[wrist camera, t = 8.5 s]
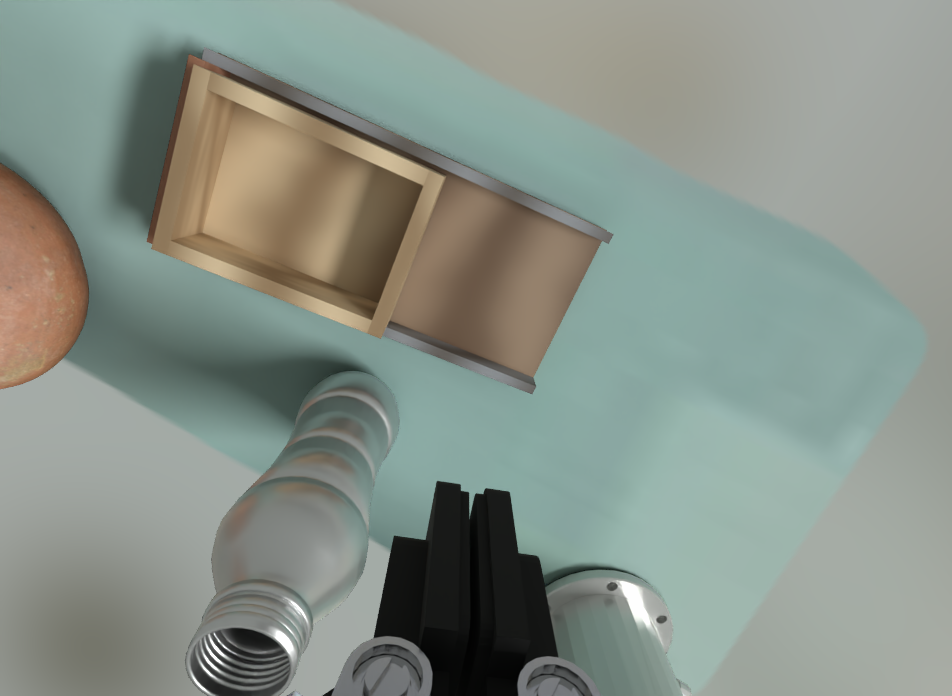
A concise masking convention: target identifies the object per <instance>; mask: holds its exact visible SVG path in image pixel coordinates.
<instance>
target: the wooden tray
mask: <svg viewBox="0 0 952 696" xmlns="http://www.w3.org/2000/svg"><path fill="white" fill-rule="evenodd" d="M194 64H195V65H197V66H200V67H202V68H205V69H208V70H210V71H213V72H215V73H218V74H221V75H223V76H226V77H228V78H231V79H233V80H236V81H238V82H240V83H242V84H245V85H247V86H249V87H251V88H253V89H256V90H258V91H260V92H262V93H265V94H267V95H269V96H271V97H273V98H276V99H278V100H280V101H282V102H284V103H287V104H289V105H291V106H293V107H296V108H298V109H300V110H302V111H304V112H307V113H309V114H311V115H313V116H315V117H318V118H320V119H322V120H324V121H327V122H329V123H331V124H333V125H335V126H338V127H340V128H342V129H344V130H346V131H349V132H351V133H353V134H355V135H358V136H360V137H362V138H364V139H366V140H369V141H371V142H373V143H375V144H377V145H380V146H382V147H384V148H386V149H389V150H391V151H393V152H395V153H397V154H400V155H402V156H404V157H406V158H408V159H411V160H413V161H415V162H417V163H420V164H422V165H424V166H426V167H428V168H431V169H433V170H435V171H437V172H440V173H442V174H444V175H446V179H445V182H444V184H443V187H442V189H441V192H440V194H439V197H438V199H437V202H436V204H435V207H434V210H433V212H432V215H431V217H430V220H429V222H428V225H427V227H426V230H425V232H424V235H423V237H422V240H421V243H420V245H419V248H418V250H417V253H416V255H415V258H414V260H413V263H412V265H411V268H410V271H409V273H408V276H407V278H406V281H405V283H404V286H403V288H402V291H401V293H400V296H399V299H398V301H397V304H396V306H395V309H394V311H393V314H392V316H391V319H390V321H389V323H388V325H387V327H386V329H385V331H384V333H383V335H382V336H385V337H388V338H390V339H393V340H395V341H398V342H400V343H403V344H405V345H408V346H410V347H413V348H416V349H418V350H421V351H423V352H426V353H428V354H431V355H433V356H436V357H438V358H441V359H444V360H446V361H449V362H451V363H454V364H456V365H459V366H461V367H464V368H466V369H469V370H472V371H474V372H477V373H479V374H482V375H484V376H487V377H489V378H492V379H494V380H497V381H500V382H502V383H505V384H507V385H510V386H512V387H515V388H517V389H520V390H522V391H525V392H528V393H530V394H533V392H534V390H535V388H536V385H535V382H534V379H533V377H534V375H535V373H536V371H537V369H538V367H539V365H540V363H541V361H542V359H543V357H544V355H545V353H546V351H547V349H548V347H549V345H550V343H551V341H552V339H553V337H554V335H555V333H556V331H557V329H558V327H559V325H560V323H561V321H562V319H563V317H564V315H565V313H566V311H567V309H568V307H569V305H570V303H571V301H572V299H573V297H574V295H575V293H576V291H577V289H578V287H579V285H580V283H581V281H582V279H583V277H584V275H585V274H586V272H587V270H588V268H589V266H590V264H591V262H592V260H593V258H594V256H595V254H596V252H597V250H598V248H599V246H600V244H601V242H602V241H604V242H606V243H608V244H609V242H610V240H611V238H612V236H613V234H612V233H610V232H607V230H605V229H603V228H600V227H598V226H596V225H594V224H592V223H590V222H587V221H585V220H583V219H581V218H579V217H576V216H574V215H572V214H570V213H568V212H565V211H563V210H561V209H559V208H557V207H555V206H552V205H550V204H548V203H546V202H544V201H541V200H539V199H537V198H535V197H533V196H531V195H528V194H526V193H524V192H522V191H520V190H517V189H515V188H513V187H511V186H509V185H506V184H504V183H502V182H500V181H498V180H496V179H493V178H491V177H489V176H487V175H485V174H482V173H480V172H478V171H476V170H474V169H471V168H469V167H467V166H465V165H463V164H461V163H458V162H456V161H454V160H452V159H450V158H447V157H445V156H443V155H441V154H439V153H437V152H434V151H432V150H430V149H428V148H426V147H423V146H421V145H419V144H417V143H415V142H412V141H410V140H408V139H406V138H404V137H402V136H399V135H397V134H395V133H393V132H391V131H388V130H386V129H384V128H382V127H380V126H377V125H375V124H373V123H371V122H369V121H367V120H364V119H362V118H360V117H358V116H356V115H353V114H351V113H349V112H347V111H345V110H343V109H340V108H338V107H336V106H334V105H332V104H329V103H327V102H325V101H323V100H321V99H318V98H316V97H314V96H312V95H310V94H308V93H305V92H303V91H301V90H299V89H297V88H294V87H292V86H290V85H288V84H286V83H283V82H281V81H279V80H277V79H275V78H273V77H270V76H268V75H266V74H264V73H262V72H259V71H257V70H255V69H253V68H251V67H249V66H246V65H244V64H242V63H240V62H238V61H235V60H233V59H231V58H229V57H227V56H224V55H222V54H220V53H216V52H214V51H212V50H209V49H207V48H205V47H204V51H203V55H202V59H200V58H197V57H195V56H192V55H190V54H189V56H188V61H187V65H186V69H185V74H184V78H183V83H182V87H181V92H180V96H179V101H178V105H177V109H176V114H175V118H174V123H173V127H172V132H171V136H170V140H169V145H168V149H167V154H166V158H165V163H164V167H163V171H162V176H161V180H160V185H159V189H158V194H157V198H156V202H155V207H154V211H153V216H152V220H151V225H150V229H149V234H148V238H147V242H149V243H151V244H153V239H154V235H155V231H156V226H157V222H158V218H159V213H160V209H161V205H162V200H163V196H164V192H165V187H166V183H167V178H168V174H169V170H170V165H171V161H172V157H173V152H174V148H175V144H176V139H177V135H178V130H179V126H180V122H181V117H182V113H183V109H184V104H185V100H186V96H187V91H188V87H189V83H190V78H191V74H192V69H193V65H194Z"/></svg>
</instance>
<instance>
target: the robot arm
mask: <svg viewBox="0 0 952 696" xmlns="http://www.w3.org/2000/svg"><path fill="white" fill-rule="evenodd" d="M672 636H673V624H672V618H671V615H670V613H669V611H668V608H667V606H666V604H665V602H664V600H663V599H662V597H661V595H660V594H659V593H658V592H657V591H656V590H655V589H654V588H653V587H652V586H651V585H649V584H648V583H647V582H645V581H644V580H642V579H640V578H638V577H635V576H633V575H631V574H628V573H623V572H619V571H614V570H590V571H583V572H579V573H575V574H571V575H568V576H566V577H563V578H561V579H558V580H556V581H555V582H553V583H551V584H550V585H548V586H546V587H545V584H544V579H543V574H542V569H541V564H540V560H539V558H538V557H537V556H534V555H527V554H520V553H518V547H517V540H516V533H515V526H514V519H513V511H512V504H511V497H510V492H508V491H501V490H494V489H488V488H486V489H485V491H484V494H477V493H476V494H475V497H474V501H473V506H472V510H471V515H470V520H469V492H464V491H461V485H460V484H454V483H448V482H441V481H437V483H436V488H435V493H434V499H433V504H432V509H431V515H430V520H429V525H428V531H427V536H426V540H421V539H414V538H407V537H399V536H394V538H393V543H392V548H391V553H390V558H389V563H388V568H387V573H386V578H385V583H384V588H383V594H382V599H381V604H380V608H379V614H378V619H377V624H376V629H375V634H374V638H373V639H371V640H369V641H367V642H364V643H362V644H361V645H360V646H359V647H357V648H356V649H355V650H354V651H353V652H352V653H351V655H350V656H349V658H348V659H347V661H346V663H345V665H344V667H343V669H342V672H341V674H340V676H339V679H338V681H337V684H336V686H335V688H333V689H332V690H330V691H329V692H328V693H326V694H324V695H323V696H691V694H692V693H691V689H690V687H689V686H688V685H687V684H685V683H683V682H682V681H680V680H679V679H677V678H676V677H675V675H674V672H673V670H672V667H671V665H670V663H669V660H668V658H667V655H666V654H667V652H668V650H669V647H670V645H671V642H672Z"/></svg>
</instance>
